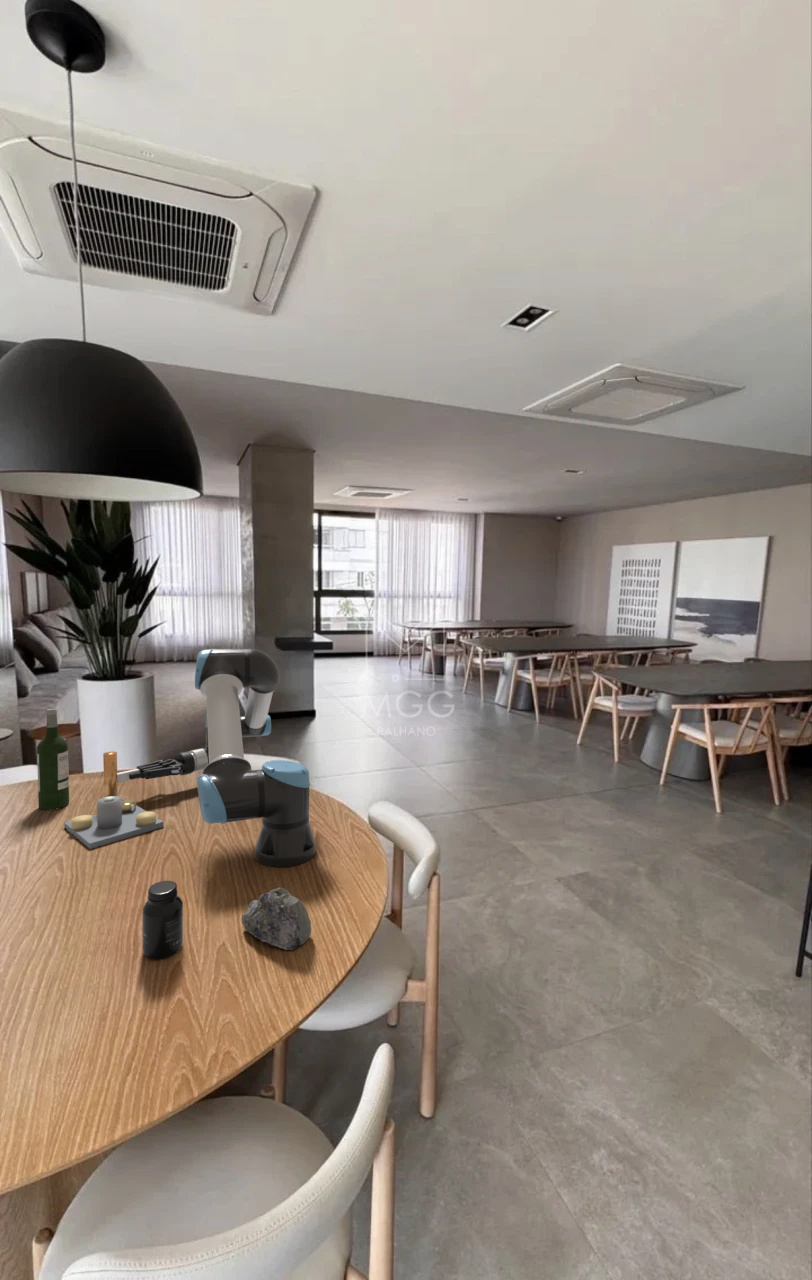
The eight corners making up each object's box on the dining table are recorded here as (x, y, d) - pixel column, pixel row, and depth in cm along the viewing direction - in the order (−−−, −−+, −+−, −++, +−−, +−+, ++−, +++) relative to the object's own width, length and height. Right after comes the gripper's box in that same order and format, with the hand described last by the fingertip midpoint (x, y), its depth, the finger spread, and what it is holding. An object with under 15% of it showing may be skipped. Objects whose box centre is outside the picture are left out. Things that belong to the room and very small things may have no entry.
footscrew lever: (140, 808, 161) (139, 757, 160) (124, 814, 157) (123, 761, 156) (115, 799, 168) (114, 750, 167) (99, 804, 164) (98, 754, 163)
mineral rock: (239, 927, 107) (238, 878, 107) (290, 910, 114) (290, 864, 113) (261, 964, 97) (261, 910, 96) (316, 943, 103) (317, 892, 102)
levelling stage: (163, 826, 153) (163, 795, 152) (89, 849, 139) (89, 814, 138) (134, 808, 166) (134, 779, 165) (64, 827, 151) (63, 795, 150)
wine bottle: (69, 807, 166) (67, 710, 164) (38, 812, 161) (35, 712, 159) (68, 799, 172) (66, 705, 170) (38, 803, 168) (35, 708, 166)
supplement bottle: (133, 955, 98) (132, 891, 97) (163, 934, 105) (162, 874, 104) (163, 965, 96) (162, 900, 95) (191, 943, 102) (190, 881, 101)
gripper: (200, 777, 180) (125, 795, 162) (181, 768, 189) (108, 785, 171) (200, 755, 179) (125, 771, 162) (181, 747, 188) (108, 761, 170)
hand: (116, 778), depth 166 cm, fingers closed
